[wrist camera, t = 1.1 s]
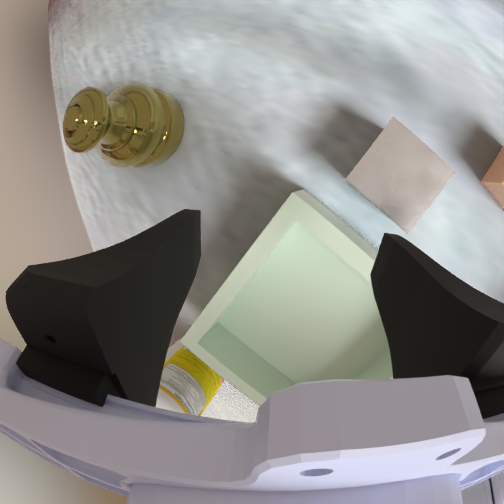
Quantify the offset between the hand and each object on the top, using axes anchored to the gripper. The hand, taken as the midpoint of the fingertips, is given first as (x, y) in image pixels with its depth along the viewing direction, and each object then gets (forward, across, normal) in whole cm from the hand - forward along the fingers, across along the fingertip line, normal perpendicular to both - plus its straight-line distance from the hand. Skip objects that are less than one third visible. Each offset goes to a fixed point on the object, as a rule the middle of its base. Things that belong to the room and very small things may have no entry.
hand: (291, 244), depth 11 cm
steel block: (+11, -8, 0) cm, 14 cm away
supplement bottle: (+9, +6, +21) cm, 23 cm away
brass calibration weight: (+17, +12, -1) cm, 21 cm away
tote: (+8, -4, +12) cm, 15 cm away
